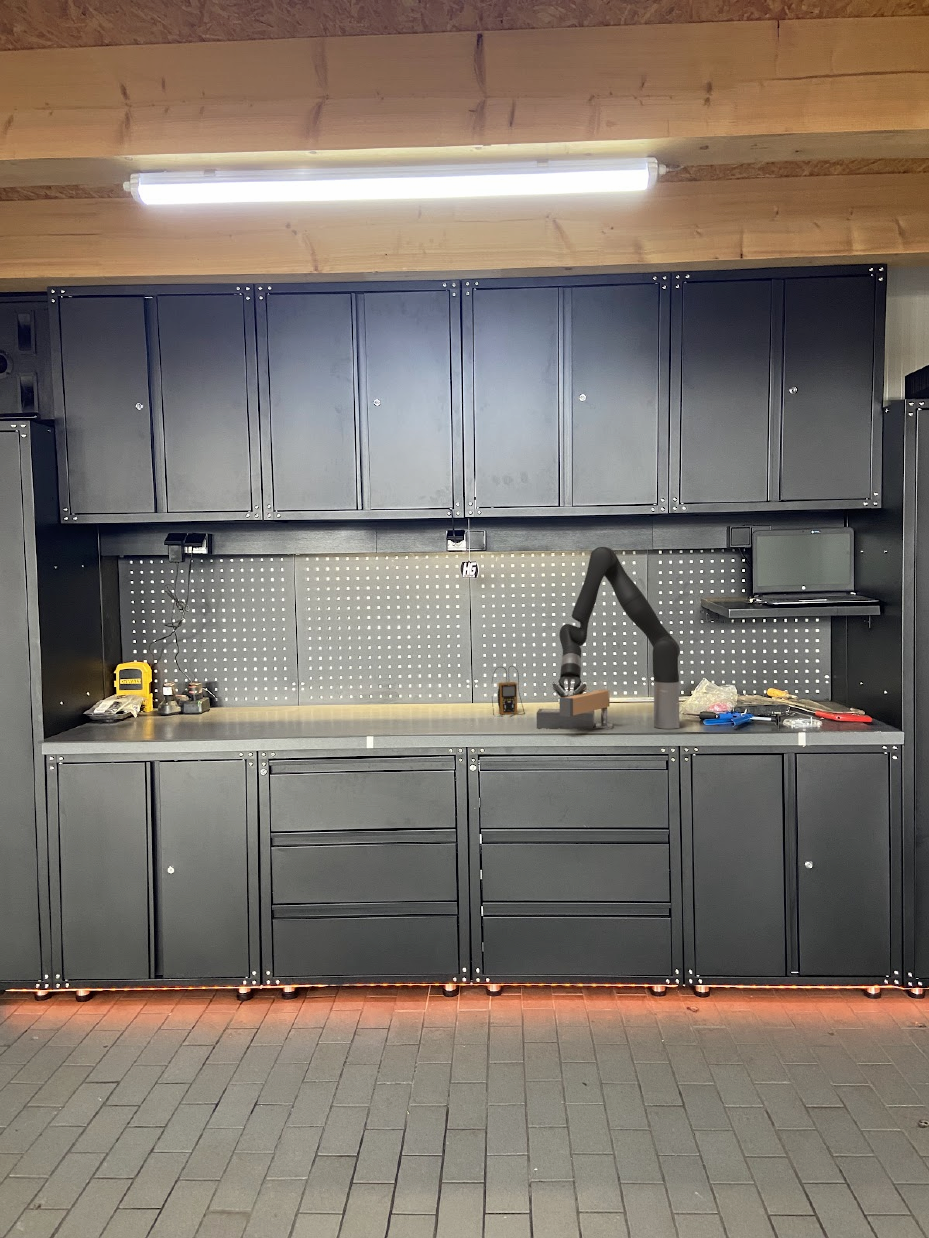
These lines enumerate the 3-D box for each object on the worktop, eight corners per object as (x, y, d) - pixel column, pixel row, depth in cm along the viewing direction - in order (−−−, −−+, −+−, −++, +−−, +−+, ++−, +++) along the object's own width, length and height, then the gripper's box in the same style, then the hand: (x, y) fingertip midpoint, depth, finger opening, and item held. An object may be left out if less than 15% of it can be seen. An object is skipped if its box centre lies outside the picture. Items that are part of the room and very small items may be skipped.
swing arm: (601, 705, 349) (601, 688, 348) (612, 706, 346) (611, 689, 345) (559, 715, 326) (559, 697, 326) (570, 716, 323) (569, 698, 323)
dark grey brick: (594, 724, 352) (594, 708, 351) (592, 729, 342) (592, 712, 342) (539, 723, 356) (539, 708, 355) (536, 728, 346) (536, 712, 346)
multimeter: (497, 718, 371) (497, 668, 370) (490, 714, 381) (489, 666, 380) (531, 716, 375) (531, 667, 374) (523, 712, 385) (523, 665, 384)
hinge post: (612, 726, 348) (612, 705, 348) (612, 728, 343) (612, 708, 342) (596, 725, 350) (596, 705, 349) (595, 728, 344) (595, 707, 343)
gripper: (552, 661, 342) (549, 699, 331) (588, 662, 340) (586, 699, 329) (553, 674, 348) (550, 711, 337) (589, 674, 345) (587, 712, 334)
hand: (568, 705), depth 333 cm, fingers closed
